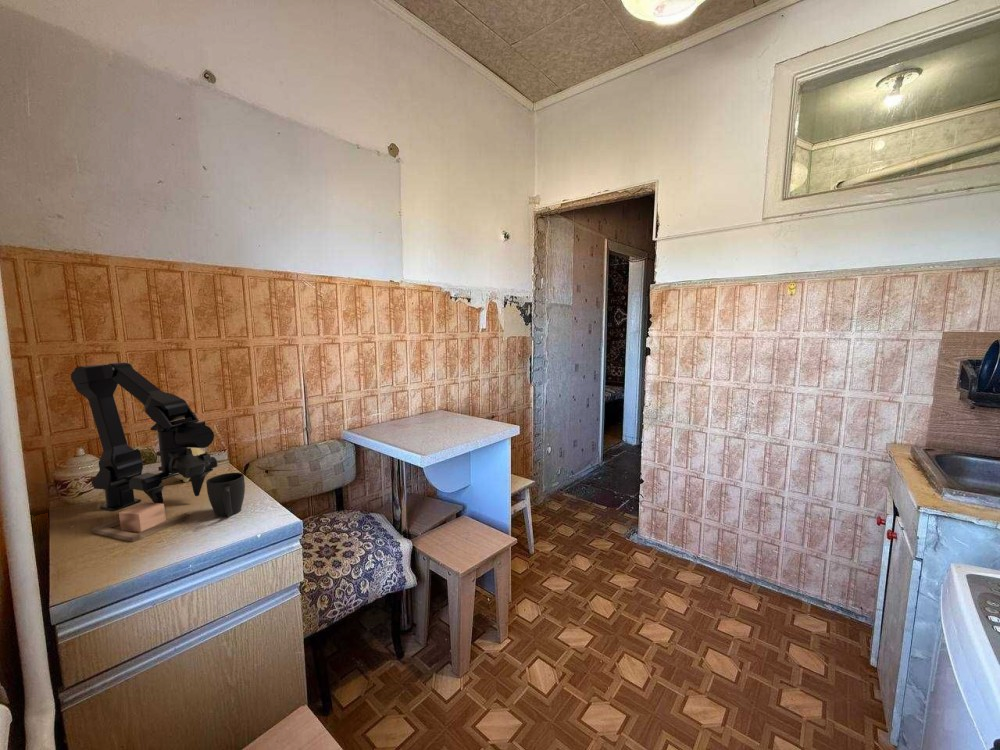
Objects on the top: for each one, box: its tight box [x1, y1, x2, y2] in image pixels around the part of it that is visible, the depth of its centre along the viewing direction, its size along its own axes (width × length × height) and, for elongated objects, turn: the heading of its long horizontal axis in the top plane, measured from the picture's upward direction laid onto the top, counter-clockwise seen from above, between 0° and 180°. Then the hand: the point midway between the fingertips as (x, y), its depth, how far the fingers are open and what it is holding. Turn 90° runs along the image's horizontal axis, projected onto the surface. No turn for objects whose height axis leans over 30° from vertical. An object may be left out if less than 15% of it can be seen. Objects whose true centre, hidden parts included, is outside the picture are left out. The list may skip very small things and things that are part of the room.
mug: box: [205, 472, 246, 518], centre depth 105 cm, size 8×12×10 cm
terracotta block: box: [118, 501, 167, 533], centre depth 100 cm, size 6×6×4 cm
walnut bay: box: [91, 512, 191, 543], centre depth 101 cm, size 15×12×1 cm
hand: (179, 502), depth 109 cm, fingers open, 9 cm apart
